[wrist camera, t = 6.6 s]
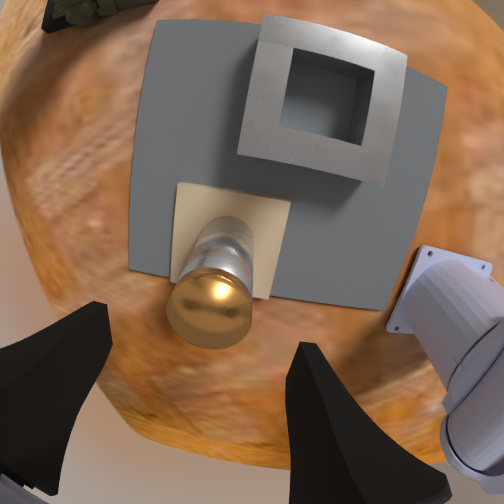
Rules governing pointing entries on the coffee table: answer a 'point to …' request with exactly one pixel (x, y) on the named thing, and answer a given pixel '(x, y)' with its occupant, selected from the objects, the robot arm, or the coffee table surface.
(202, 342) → the gold capped metal cylinder
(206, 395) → the coffee table surface
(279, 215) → the cork pad
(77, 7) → the mechanical leg
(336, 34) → the block
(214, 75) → the mat
